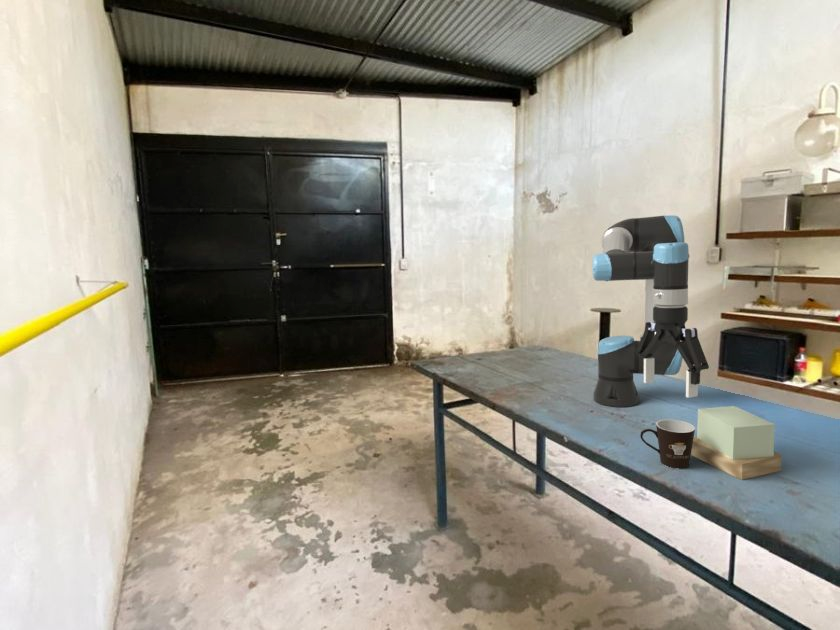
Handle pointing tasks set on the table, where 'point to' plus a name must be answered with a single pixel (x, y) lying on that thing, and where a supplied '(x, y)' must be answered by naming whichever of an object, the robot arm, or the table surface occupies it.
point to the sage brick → (736, 432)
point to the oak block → (735, 461)
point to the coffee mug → (673, 442)
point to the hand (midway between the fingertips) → (669, 389)
